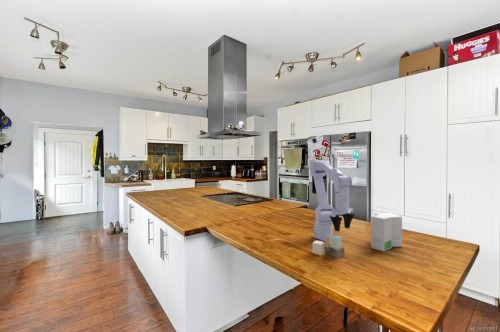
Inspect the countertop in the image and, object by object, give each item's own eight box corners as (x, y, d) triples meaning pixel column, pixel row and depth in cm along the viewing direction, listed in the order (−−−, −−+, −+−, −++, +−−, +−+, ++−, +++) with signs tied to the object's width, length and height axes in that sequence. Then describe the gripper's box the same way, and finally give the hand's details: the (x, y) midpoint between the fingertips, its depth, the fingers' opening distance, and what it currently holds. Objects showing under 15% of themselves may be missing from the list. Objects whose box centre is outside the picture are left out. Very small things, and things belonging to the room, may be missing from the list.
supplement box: (390, 240, 122) (390, 212, 122) (402, 246, 113) (402, 216, 113) (373, 240, 122) (374, 212, 121) (384, 247, 113) (385, 217, 112)
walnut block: (325, 255, 105) (325, 246, 105) (332, 251, 109) (332, 243, 109) (337, 259, 101) (337, 250, 100) (344, 255, 104) (344, 247, 104)
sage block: (329, 246, 105) (329, 236, 105) (334, 244, 107) (334, 234, 107) (336, 249, 101) (336, 238, 101) (342, 247, 104) (342, 236, 103)
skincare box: (383, 252, 107) (384, 219, 107) (369, 247, 113) (370, 216, 112) (392, 248, 112) (392, 216, 111) (378, 243, 117) (378, 213, 117)
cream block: (312, 253, 107) (312, 242, 107) (316, 250, 110) (316, 240, 110) (320, 255, 105) (320, 244, 104) (324, 252, 108) (324, 242, 107)
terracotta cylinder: (324, 246, 114) (324, 237, 114) (329, 245, 117) (329, 235, 116) (331, 249, 111) (331, 239, 111) (336, 247, 113) (336, 237, 113)
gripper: (340, 204, 101) (339, 234, 102) (359, 200, 109) (358, 228, 109) (326, 201, 107) (326, 230, 108) (345, 198, 115) (345, 225, 115)
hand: (342, 229), depth 109 cm, fingers open, 7 cm apart
